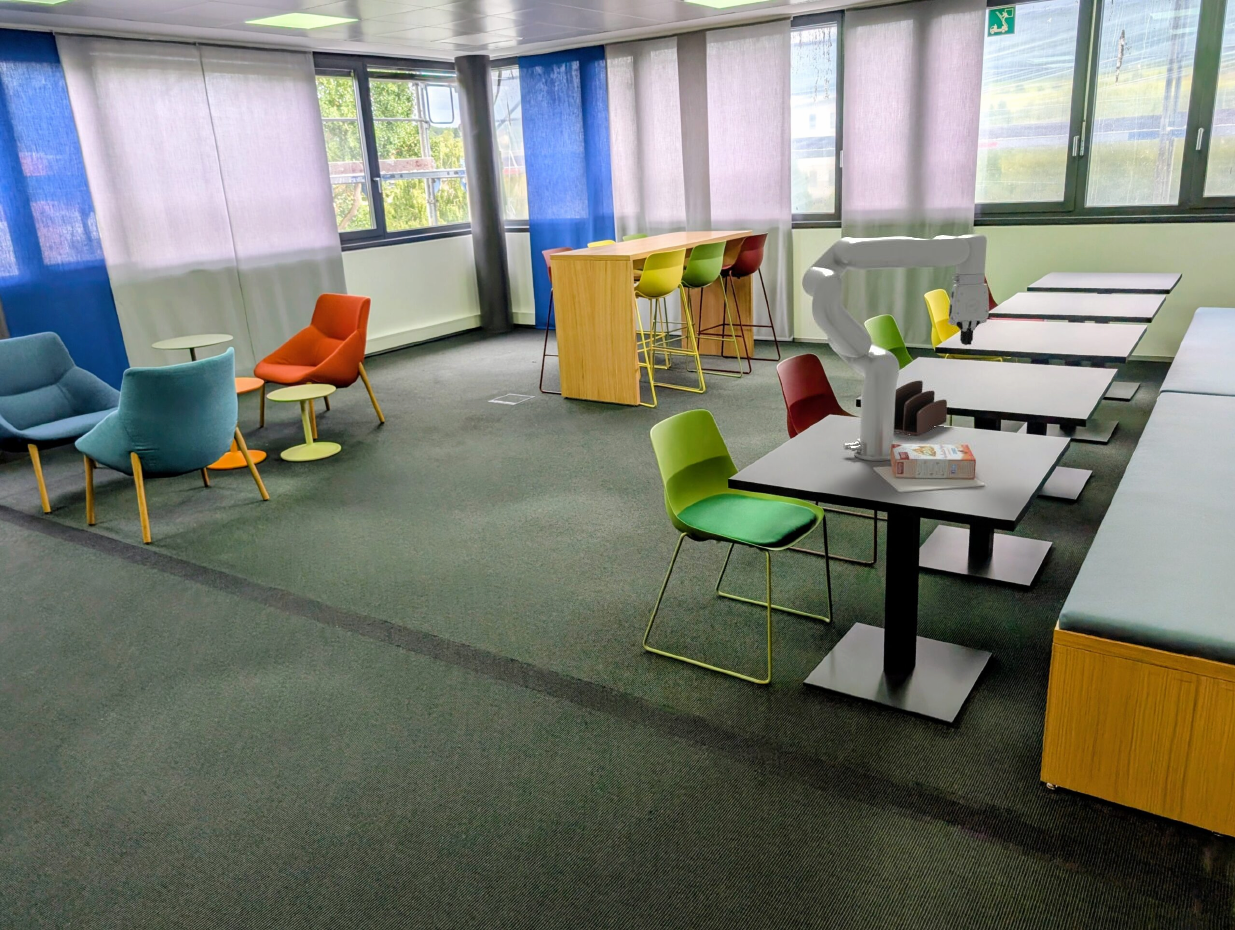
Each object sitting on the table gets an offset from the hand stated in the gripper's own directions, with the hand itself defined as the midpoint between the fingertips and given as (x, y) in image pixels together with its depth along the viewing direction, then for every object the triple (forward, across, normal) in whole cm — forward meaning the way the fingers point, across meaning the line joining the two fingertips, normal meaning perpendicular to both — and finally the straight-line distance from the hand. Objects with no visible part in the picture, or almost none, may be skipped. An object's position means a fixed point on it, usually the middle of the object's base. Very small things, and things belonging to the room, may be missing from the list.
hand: (966, 343), depth 262 cm
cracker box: (+28, -6, -23) cm, 36 cm away
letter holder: (+32, -4, +24) cm, 40 cm away
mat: (+31, -19, -24) cm, 44 cm away
